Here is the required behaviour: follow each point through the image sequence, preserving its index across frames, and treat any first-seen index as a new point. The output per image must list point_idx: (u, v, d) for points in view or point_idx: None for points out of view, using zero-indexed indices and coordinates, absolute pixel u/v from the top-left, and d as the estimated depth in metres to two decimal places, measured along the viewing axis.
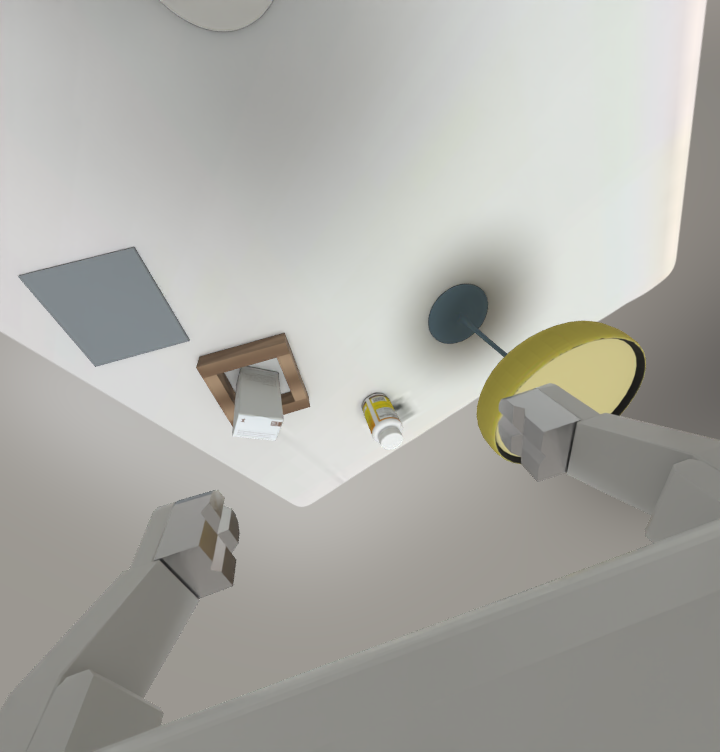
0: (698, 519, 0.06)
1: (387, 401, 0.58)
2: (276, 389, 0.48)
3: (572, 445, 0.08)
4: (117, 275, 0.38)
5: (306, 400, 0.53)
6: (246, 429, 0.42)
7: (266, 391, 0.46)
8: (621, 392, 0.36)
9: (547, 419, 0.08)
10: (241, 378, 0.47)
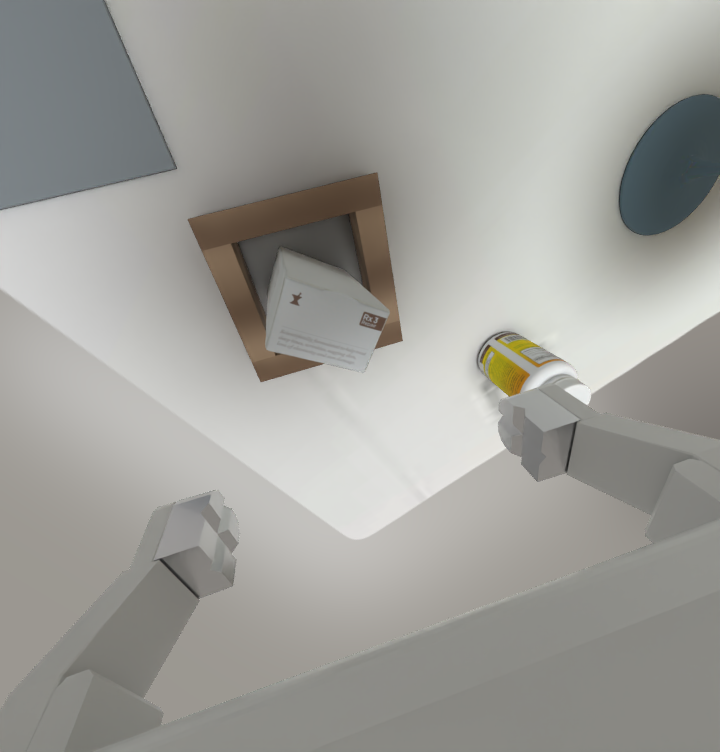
0: (698, 519, 0.06)
1: (531, 342, 0.32)
2: (353, 280, 0.23)
3: (572, 445, 0.08)
4: None
5: (398, 326, 0.28)
6: (300, 329, 0.16)
7: (335, 275, 0.21)
8: None
9: (547, 419, 0.08)
10: (282, 252, 0.22)
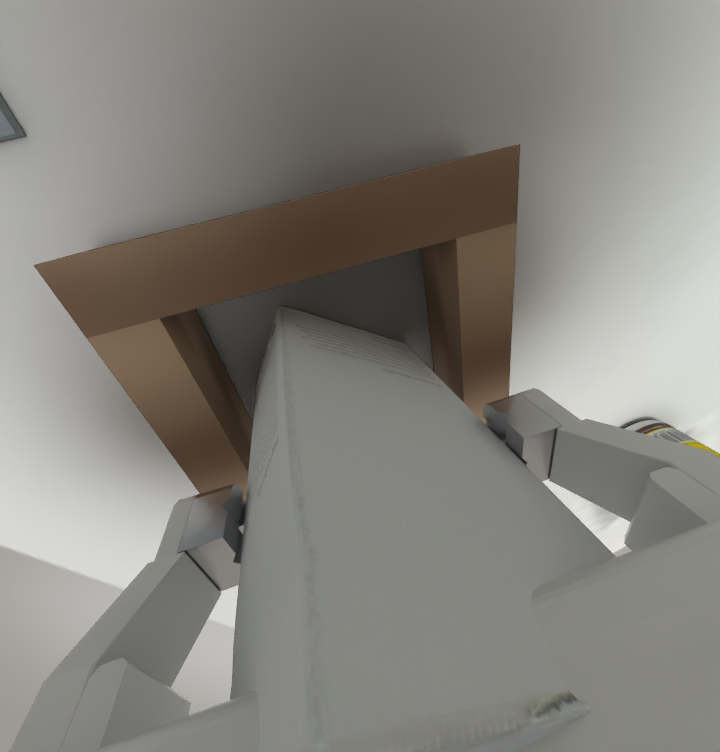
0: (673, 528, 0.06)
1: None
2: (451, 398, 0.10)
3: (553, 451, 0.08)
4: None
5: None
6: None
7: (422, 406, 0.08)
8: None
9: (528, 425, 0.08)
10: (286, 340, 0.09)
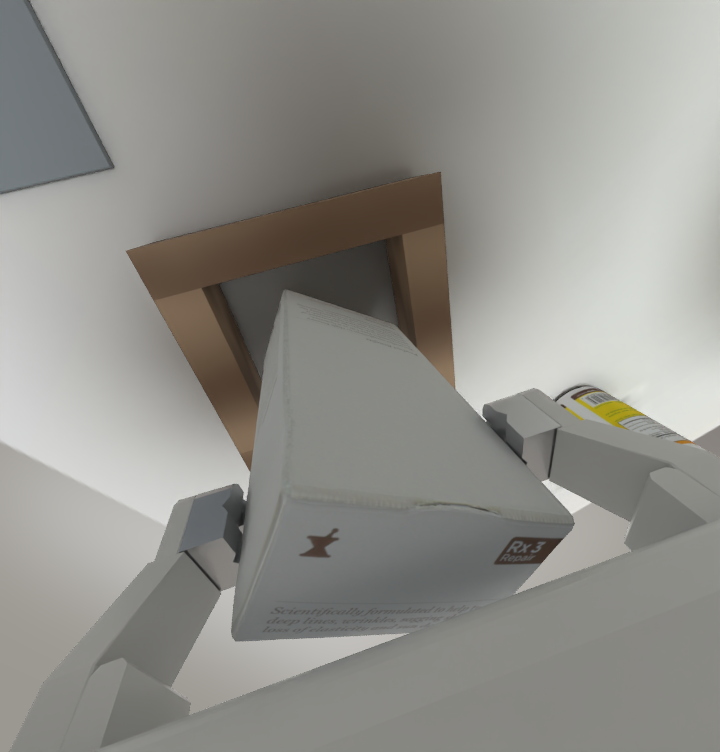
0: (673, 528, 0.06)
1: None
2: (424, 363, 0.12)
3: (554, 451, 0.08)
4: None
5: None
6: (331, 599, 0.06)
7: (395, 364, 0.10)
8: None
9: (528, 425, 0.08)
10: (287, 313, 0.11)
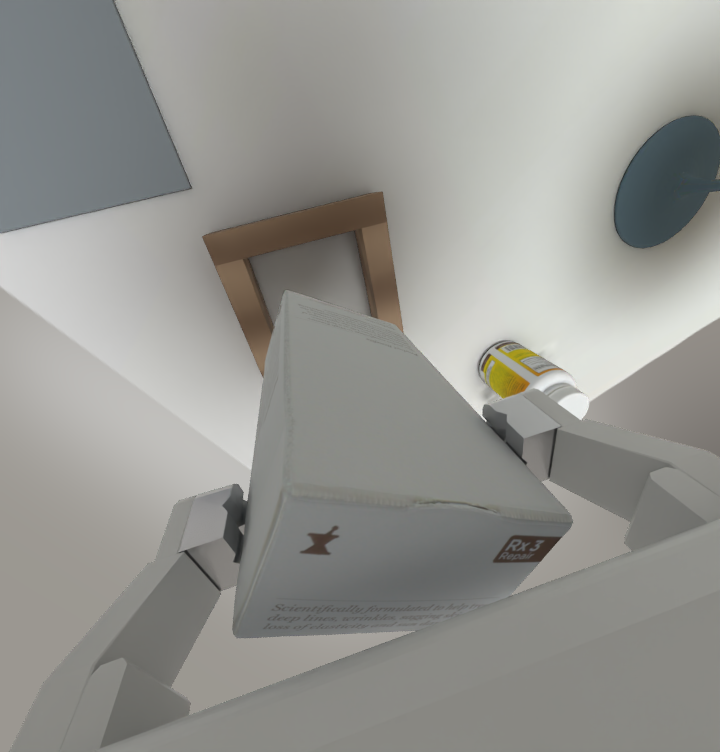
0: (673, 528, 0.06)
1: None
2: (424, 363, 0.12)
3: (554, 451, 0.08)
4: None
5: None
6: (331, 597, 0.06)
7: (395, 364, 0.10)
8: None
9: (528, 425, 0.08)
10: (288, 313, 0.11)
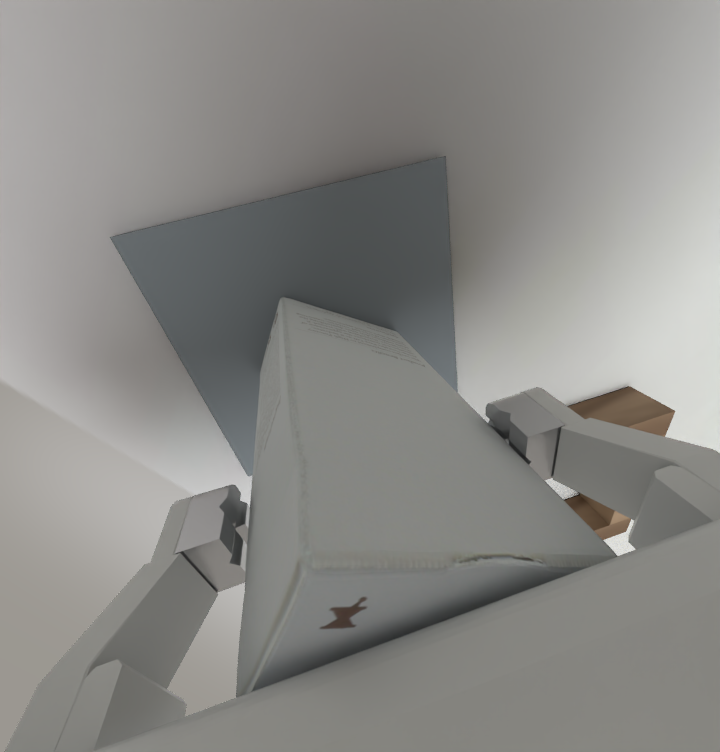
0: (678, 526, 0.06)
1: None
2: (433, 376, 0.11)
3: (557, 449, 0.08)
4: (375, 242, 0.14)
5: (628, 521, 0.26)
6: None
7: (405, 379, 0.10)
8: None
9: (532, 424, 0.08)
10: (287, 324, 0.10)
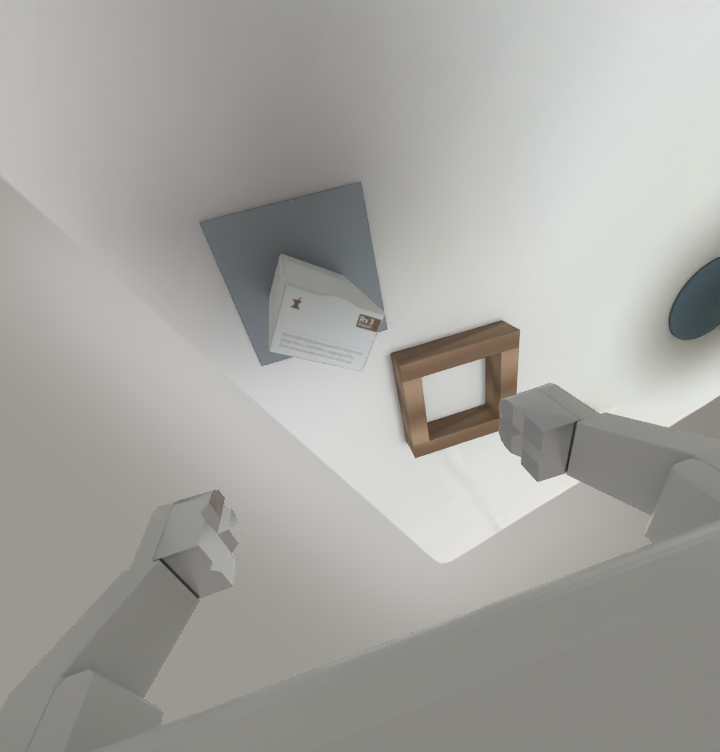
0: (698, 519, 0.06)
1: None
2: (351, 285, 0.24)
3: (572, 445, 0.08)
4: (328, 225, 0.26)
5: None
6: (301, 331, 0.18)
7: (333, 280, 0.22)
8: None
9: (547, 419, 0.08)
10: (283, 260, 0.23)
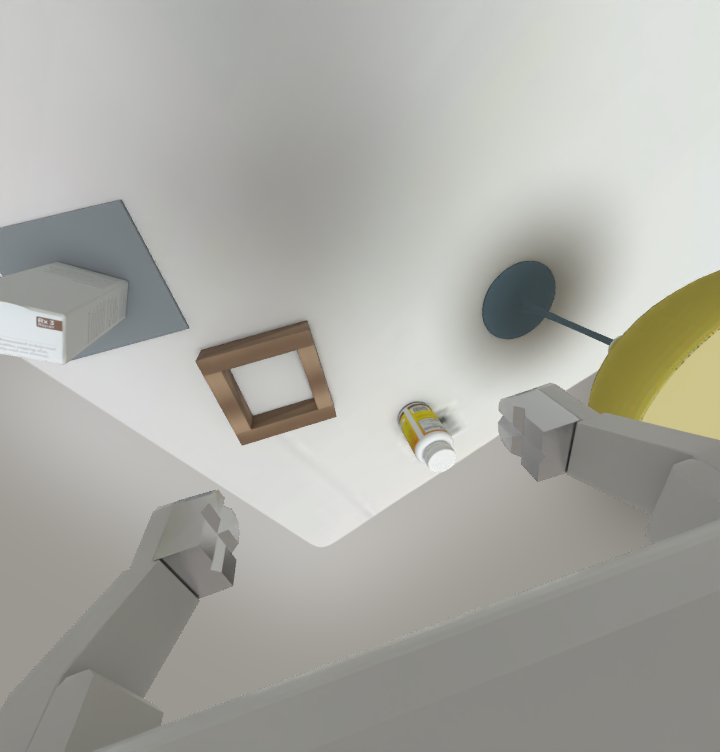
0: (698, 519, 0.06)
1: (431, 411, 0.47)
2: (98, 290, 0.28)
3: (572, 445, 0.08)
4: (98, 237, 0.30)
5: (332, 408, 0.42)
6: None
7: (68, 286, 0.26)
8: None
9: (547, 419, 0.08)
10: (33, 268, 0.27)
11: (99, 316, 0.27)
